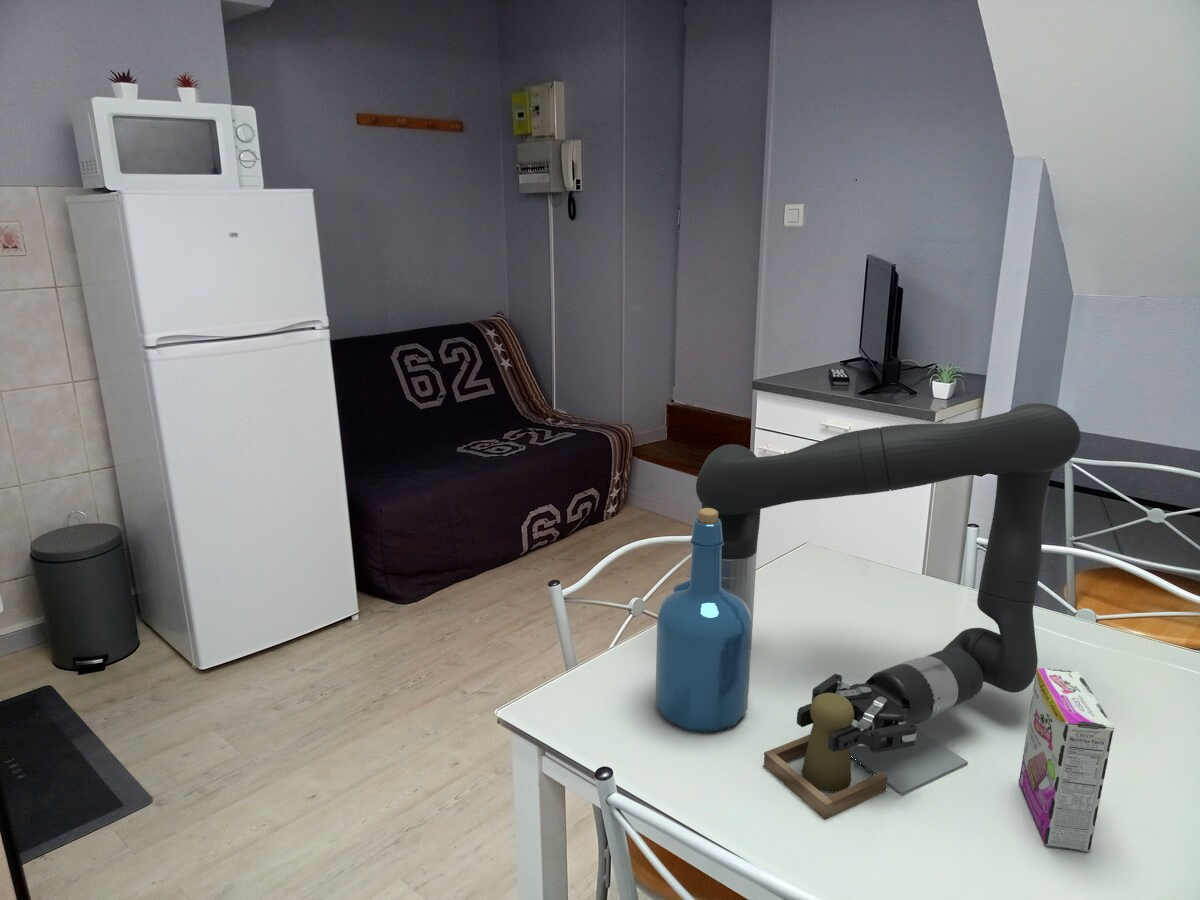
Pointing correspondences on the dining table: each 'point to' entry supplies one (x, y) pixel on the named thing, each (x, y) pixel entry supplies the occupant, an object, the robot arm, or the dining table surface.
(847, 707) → the cork
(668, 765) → the dining table surface
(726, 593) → the wine bottle
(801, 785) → the wooden u-shaped frame
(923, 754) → the slate mat
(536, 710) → the dining table surface
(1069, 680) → the candy bar box
